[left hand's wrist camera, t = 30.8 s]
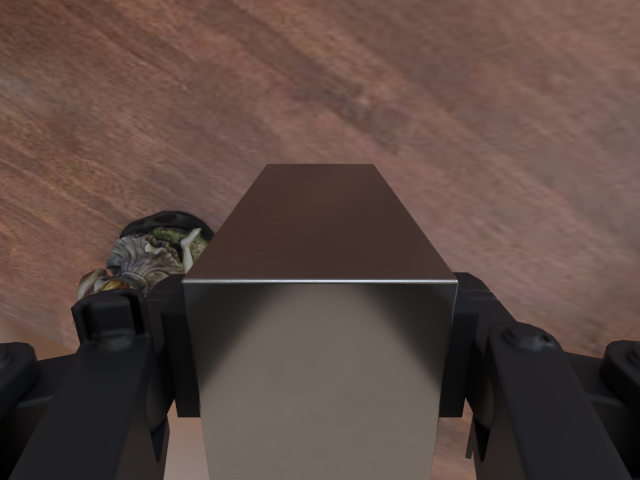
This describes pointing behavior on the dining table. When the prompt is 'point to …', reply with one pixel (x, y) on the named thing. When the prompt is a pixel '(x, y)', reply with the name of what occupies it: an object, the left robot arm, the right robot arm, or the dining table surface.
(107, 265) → the figurine
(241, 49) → the dining table surface
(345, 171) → the block
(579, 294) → the dining table surface
